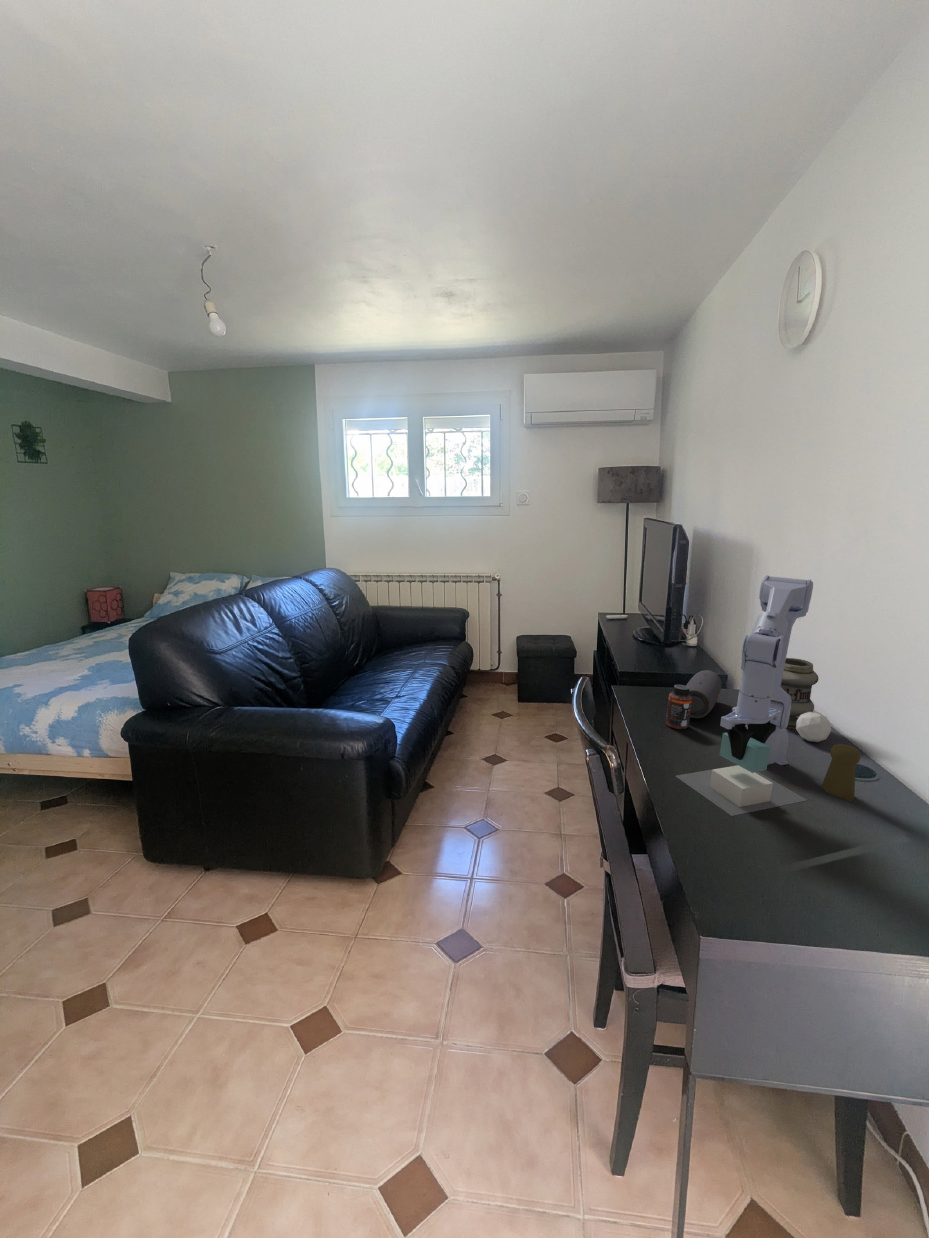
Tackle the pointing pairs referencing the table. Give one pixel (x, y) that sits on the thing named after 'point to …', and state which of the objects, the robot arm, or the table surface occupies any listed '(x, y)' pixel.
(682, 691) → the supplement bottle
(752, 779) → the base brick
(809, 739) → the geometric ball
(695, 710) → the bluetooth speaker
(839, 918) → the table surface
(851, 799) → the cork
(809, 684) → the apothecary jar
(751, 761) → the top brick
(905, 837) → the table surface
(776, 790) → the baseplate
